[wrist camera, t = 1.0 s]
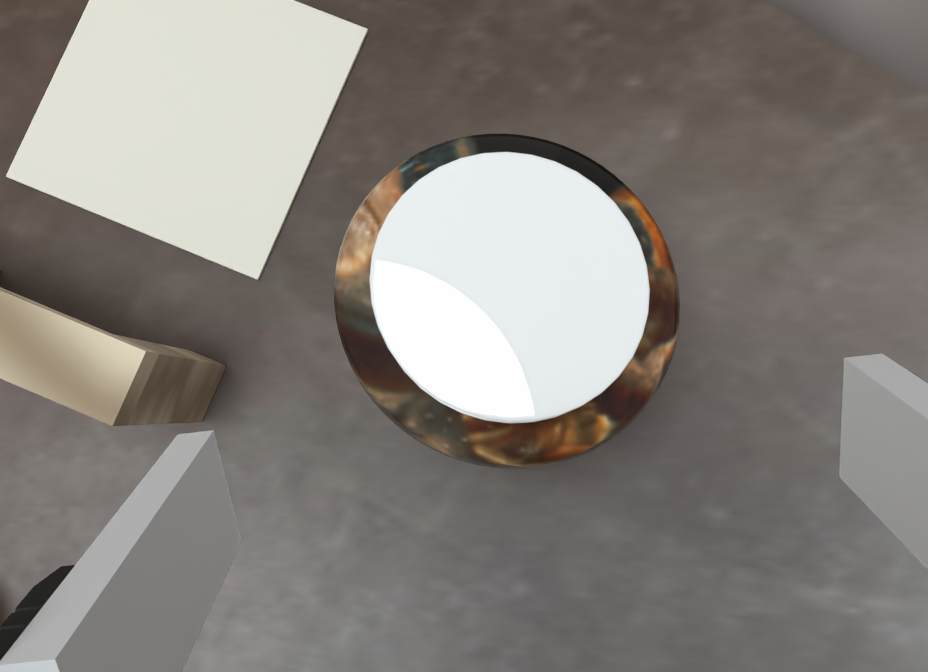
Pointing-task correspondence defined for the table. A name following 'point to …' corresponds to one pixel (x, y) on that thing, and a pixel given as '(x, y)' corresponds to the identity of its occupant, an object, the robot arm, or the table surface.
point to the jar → (506, 301)
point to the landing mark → (190, 118)
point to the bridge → (102, 368)
